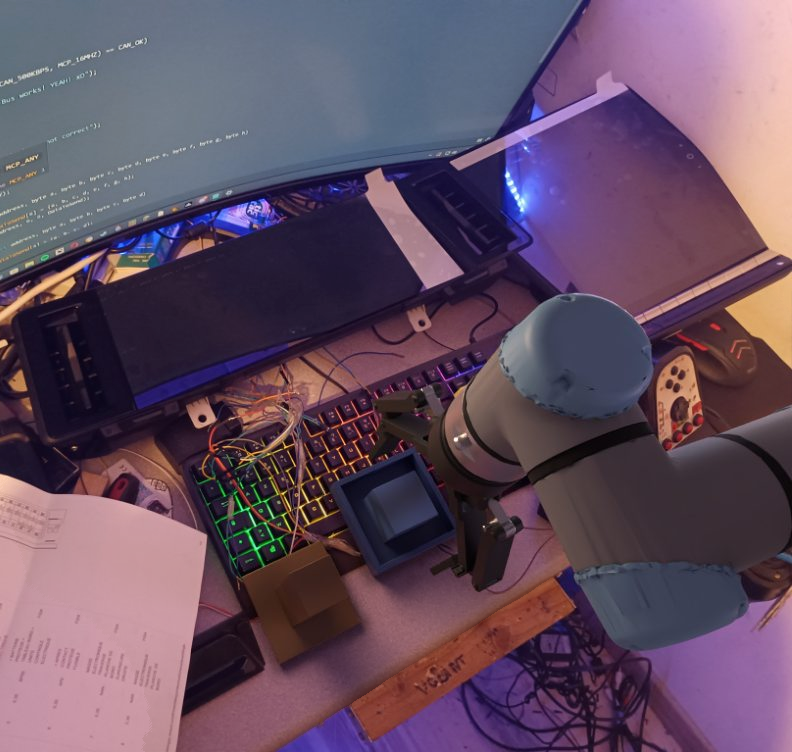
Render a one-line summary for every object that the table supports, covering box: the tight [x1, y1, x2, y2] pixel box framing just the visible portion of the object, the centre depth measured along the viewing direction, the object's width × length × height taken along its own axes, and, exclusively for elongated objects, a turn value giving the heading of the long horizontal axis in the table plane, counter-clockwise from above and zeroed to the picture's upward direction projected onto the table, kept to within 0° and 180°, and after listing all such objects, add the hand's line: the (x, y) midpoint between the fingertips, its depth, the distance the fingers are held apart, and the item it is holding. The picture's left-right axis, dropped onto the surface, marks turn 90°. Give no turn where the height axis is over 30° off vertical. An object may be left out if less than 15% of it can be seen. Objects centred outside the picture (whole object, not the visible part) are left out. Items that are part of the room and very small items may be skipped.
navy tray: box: [329, 446, 456, 578], centre depth 76 cm, size 10×10×3 cm
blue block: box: [362, 471, 438, 544], centre depth 75 cm, size 5×5×5 cm
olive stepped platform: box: [241, 539, 361, 665], centre depth 67 cm, size 9×9×12 cm
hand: (410, 508), depth 72 cm, fingers open, 12 cm apart
